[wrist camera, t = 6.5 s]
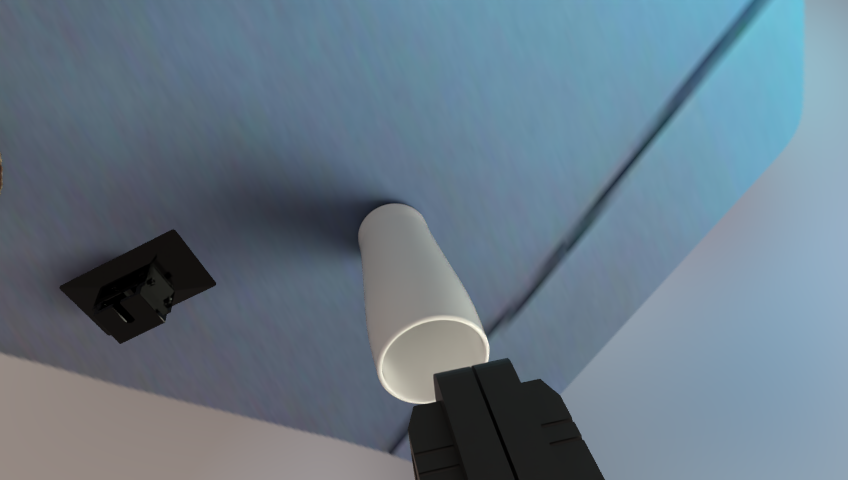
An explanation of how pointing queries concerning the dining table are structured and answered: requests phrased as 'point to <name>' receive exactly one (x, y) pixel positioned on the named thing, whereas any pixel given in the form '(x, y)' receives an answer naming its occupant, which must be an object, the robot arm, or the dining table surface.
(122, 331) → the black blocky device
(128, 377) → the dining table surface
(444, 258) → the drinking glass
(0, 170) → the flask
